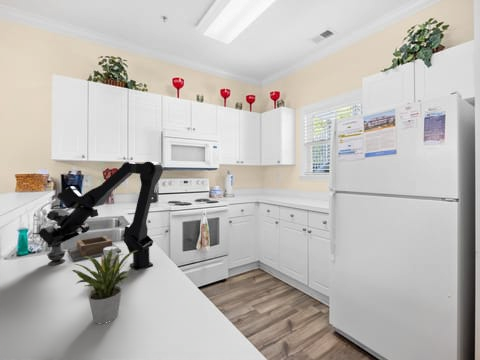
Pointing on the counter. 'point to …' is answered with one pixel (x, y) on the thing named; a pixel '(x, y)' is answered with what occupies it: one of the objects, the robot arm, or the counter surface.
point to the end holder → (91, 248)
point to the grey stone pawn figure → (56, 254)
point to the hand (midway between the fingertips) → (52, 245)
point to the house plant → (104, 288)
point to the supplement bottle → (114, 253)
